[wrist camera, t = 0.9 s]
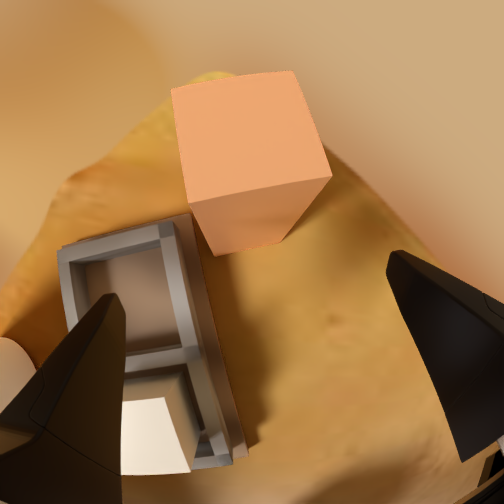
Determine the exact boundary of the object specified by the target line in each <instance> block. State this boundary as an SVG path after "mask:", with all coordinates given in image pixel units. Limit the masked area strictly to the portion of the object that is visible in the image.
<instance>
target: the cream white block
mask: <svg viewBox="0 0 504 504" xmlns="http://www.w3.org/2000/svg"><path fill="white" fill-rule="evenodd" d="M200 433H201V430H200V427H199V424H198V421H197V418H196V415H195V412H194V408H193V405H192V402H191V398H190V395H189V392H188V388H187V385H186V381H185V378H184V374H183V371H182V372H176V373H170V374H163V375H156V376H149V377H142V378H134V379H126V380H124V387H123V402H122V423H121V475H158V474H175V473H187V472H191V469H192V465H193V461H194V457H195V453H196V449H197V445H198V441H199V437H200Z"/></svg>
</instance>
